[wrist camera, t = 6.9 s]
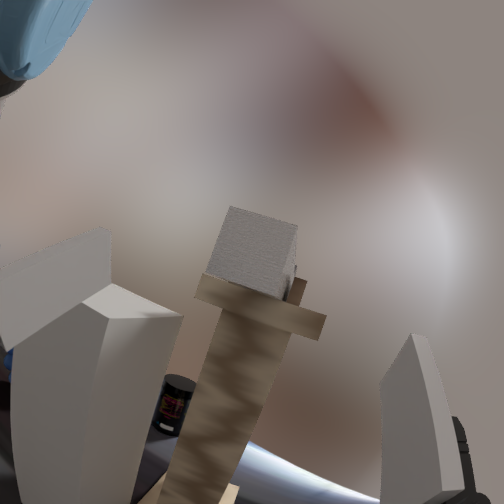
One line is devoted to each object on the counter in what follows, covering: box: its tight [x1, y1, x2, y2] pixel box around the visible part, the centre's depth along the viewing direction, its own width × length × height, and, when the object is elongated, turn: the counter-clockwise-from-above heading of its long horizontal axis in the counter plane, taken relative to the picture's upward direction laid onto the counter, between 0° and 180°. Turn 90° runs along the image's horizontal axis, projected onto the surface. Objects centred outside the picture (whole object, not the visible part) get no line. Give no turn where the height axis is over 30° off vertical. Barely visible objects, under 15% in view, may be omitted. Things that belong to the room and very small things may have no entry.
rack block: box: [10, 283, 184, 504], centre depth 17 cm, size 8×11×26 cm
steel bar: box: [206, 206, 297, 302], centre depth 23 cm, size 3×24×4 cm, turn 172°
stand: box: [138, 274, 326, 504], centre depth 26 cm, size 10×14×32 cm
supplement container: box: [152, 374, 197, 436], centre depth 45 cm, size 7×7×10 cm
